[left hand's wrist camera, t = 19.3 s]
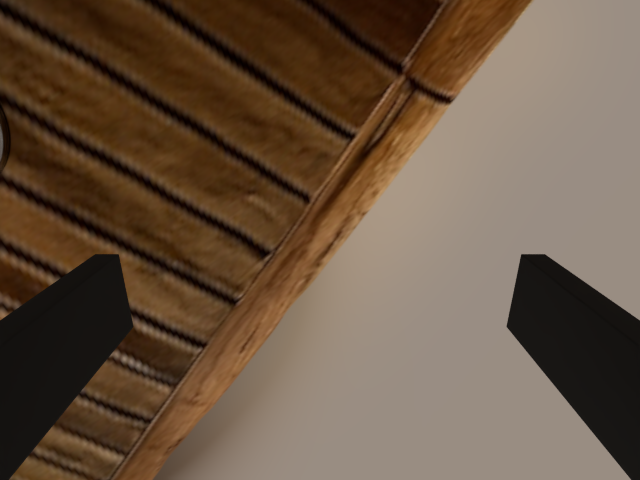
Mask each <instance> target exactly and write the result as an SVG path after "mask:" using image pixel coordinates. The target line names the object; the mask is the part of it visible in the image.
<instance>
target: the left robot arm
mask: <svg viewBox="0 0 640 480" xmlns="http://www.w3.org/2000/svg"><path fill="white" fill-rule="evenodd" d="M8 153H9V132H8V127H7V123H6V120H5V117H4V114H3V112H2V110H1V108H0V172H1V171H2V169H3V168H4V166H5V164H6V161H7V158H8ZM132 328H133V322H132V317H131V312H130V308H129V303H128V298H127V293H126V288H125V283H124V278H123V273H122V268H121V263H120V259H119V254H95V255H94V256H92V257H91V258H89V259H88V260H86V261H85V262H84V263H82V264H81V265H79V266H78V267H76V268H75V269H73V270H72V271H71V272H69V273H68V274H66V275H65V276H63V277H62V278H61V279H59V280H58V281H56V282H55V283H53V284H52V285H51V286H49V287H48V288H46V289H45V290H43V291H42V292H40V293H39V294H38V295H36V296H35V297H33V298H32V299H30V300H29V301H28V302H26V303H25V304H23V305H22V306H20V307H19V308H17V309H16V310H15V311H13V312H12V313H10V314H9V315H7V316H6V317H5V318H3V319H2V320H0V480H9V479H10V478H11V476H12V475H13V474H14V473H15V471H16V470H17V469H18V468H19V466H20V465H21V464H22V463H23V462H24V460H25V459H26V458H27V457H28V455H29V454H30V453H31V452H32V451H33V449H34V448H35V447H36V446H37V444H38V443H39V442H40V441H41V439H42V438H43V437H44V436H45V435H46V433H47V432H48V431H49V430H50V428H51V427H52V426H53V425H54V424H55V422H56V421H57V420H58V419H59V417H60V416H61V415H62V414H63V412H64V411H65V410H66V409H67V408H68V406H69V405H70V404H71V403H72V401H73V400H74V399H75V398H76V397H77V395H78V394H79V393H80V392H81V390H82V389H83V388H84V387H85V385H86V384H87V383H88V382H89V381H90V379H91V378H92V377H93V376H94V374H95V373H96V372H97V371H98V370H99V368H100V367H101V366H102V365H103V363H104V362H105V361H106V360H107V358H108V357H109V356H110V355H111V354H112V352H113V351H114V350H115V349H116V347H117V346H118V345H119V344H120V343H121V341H122V340H123V339H124V338H125V336H126V335H127V334H128V333H129V331H130V330H131V329H132ZM507 328H508V329H509V330H510V331H511V333H512V334H513V335H514V336H515V338H516V339H517V340H518V341H519V343H520V344H521V345H522V346H523V347H524V349H525V350H526V351H527V352H528V354H529V355H530V356H531V357H532V358H533V360H534V361H535V362H536V363H537V365H538V366H539V367H540V368H541V370H542V371H543V372H544V373H545V374H546V376H547V377H548V378H549V379H550V381H551V382H552V383H553V384H554V385H555V387H556V388H557V389H558V390H559V392H560V393H561V394H562V395H563V397H564V398H565V399H566V400H567V401H568V403H569V404H570V405H571V406H572V408H573V409H574V410H575V411H576V412H577V414H578V415H579V416H580V417H581V419H582V420H583V421H584V422H585V423H586V425H587V426H588V427H589V428H590V430H591V431H592V432H593V433H594V435H595V436H596V437H597V438H598V439H599V441H600V442H601V443H602V444H603V446H604V447H605V448H606V449H607V450H608V452H609V453H610V454H611V455H612V457H613V458H614V459H615V460H616V462H617V463H618V464H619V465H620V466H621V468H622V469H623V470H624V471H625V473H626V474H627V475H628V476H629V477H630V479H631V480H640V320H638V319H637V318H635V317H634V316H632V315H631V314H630V313H628V312H627V311H625V310H624V309H622V308H621V307H620V306H618V305H617V304H615V303H614V302H612V301H611V300H610V299H608V298H607V297H605V296H604V295H602V294H601V293H599V292H598V291H597V290H595V289H594V288H592V287H591V286H589V285H588V284H587V283H585V282H584V281H582V280H581V279H579V278H578V277H577V276H575V275H574V274H572V273H571V272H569V271H568V270H567V269H565V268H564V267H562V266H561V265H559V264H558V263H556V262H555V261H554V260H552V259H551V258H549V257H548V256H546V255H545V254H522V255H521V259H520V263H519V268H518V274H517V278H516V283H515V288H514V293H513V298H512V303H511V308H510V312H509V317H508V323H507Z"/></svg>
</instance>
